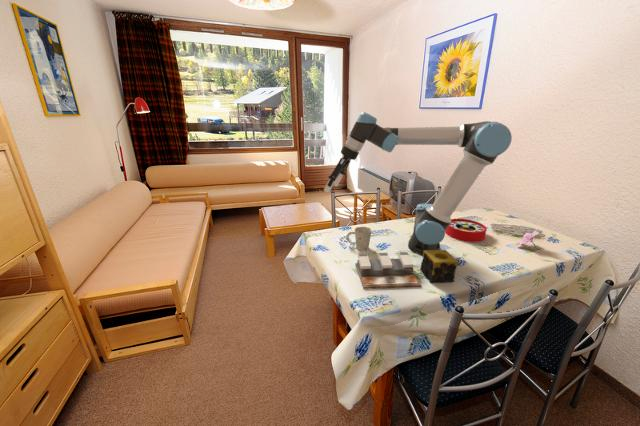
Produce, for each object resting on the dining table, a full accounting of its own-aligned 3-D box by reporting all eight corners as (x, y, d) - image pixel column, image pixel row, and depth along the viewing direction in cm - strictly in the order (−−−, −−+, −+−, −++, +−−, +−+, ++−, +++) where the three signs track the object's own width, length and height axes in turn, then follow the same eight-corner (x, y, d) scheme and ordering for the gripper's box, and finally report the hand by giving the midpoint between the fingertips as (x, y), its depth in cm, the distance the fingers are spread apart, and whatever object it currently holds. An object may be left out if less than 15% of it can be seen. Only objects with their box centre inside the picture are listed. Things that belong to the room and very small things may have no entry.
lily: (526, 242, 147) (519, 227, 146) (551, 243, 137) (544, 226, 135) (514, 254, 143) (507, 238, 141) (540, 256, 132) (533, 238, 131)
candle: (419, 270, 120) (422, 250, 117) (441, 269, 121) (445, 248, 118) (430, 284, 111) (433, 262, 107) (454, 282, 112) (458, 261, 108)
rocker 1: (366, 257, 121) (367, 253, 120) (370, 270, 115) (371, 265, 113) (357, 257, 121) (358, 253, 120) (360, 270, 114) (361, 266, 113)
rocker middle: (386, 256, 122) (387, 252, 121) (391, 269, 115) (392, 265, 114) (377, 257, 122) (378, 252, 120) (382, 269, 115) (383, 265, 114)
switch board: (405, 263, 126) (405, 256, 124) (421, 286, 109) (422, 279, 108) (355, 265, 124) (355, 258, 123) (363, 289, 108) (364, 281, 106)
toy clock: (471, 235, 141) (438, 222, 157) (469, 245, 143) (437, 231, 159) (494, 227, 150) (461, 216, 166) (492, 237, 152) (459, 225, 168)
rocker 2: (406, 256, 122) (407, 251, 121) (412, 268, 116) (413, 264, 114) (397, 256, 122) (398, 252, 121) (403, 269, 115) (404, 264, 114)
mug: (370, 252, 136) (371, 234, 132) (344, 250, 138) (345, 231, 135) (370, 244, 143) (371, 227, 140) (346, 242, 146) (347, 225, 142)
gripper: (351, 141, 132) (331, 178, 141) (337, 146, 110) (314, 190, 119) (364, 149, 131) (343, 186, 141) (353, 155, 109) (329, 199, 118)
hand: (330, 188), depth 130 cm, fingers open, 13 cm apart
